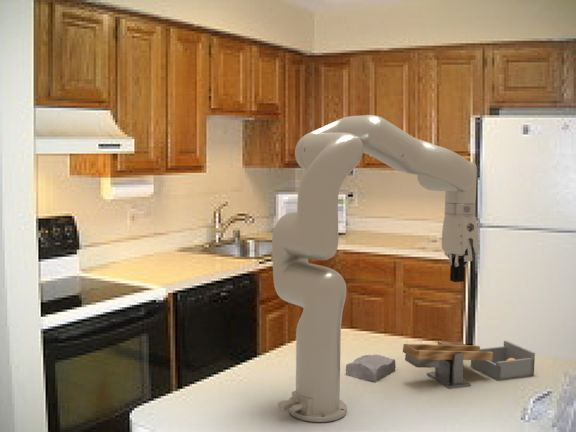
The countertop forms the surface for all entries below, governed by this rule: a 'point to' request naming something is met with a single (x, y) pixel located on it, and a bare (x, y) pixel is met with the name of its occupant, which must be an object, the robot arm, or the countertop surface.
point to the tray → (506, 362)
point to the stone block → (370, 367)
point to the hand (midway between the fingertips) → (457, 281)
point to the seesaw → (441, 353)
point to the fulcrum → (450, 372)
